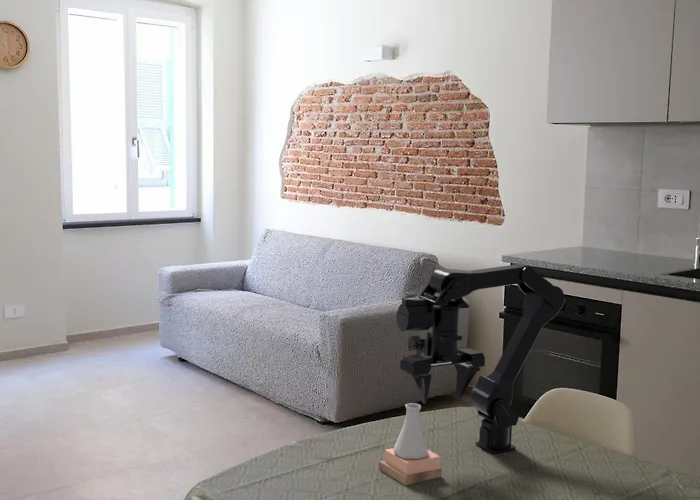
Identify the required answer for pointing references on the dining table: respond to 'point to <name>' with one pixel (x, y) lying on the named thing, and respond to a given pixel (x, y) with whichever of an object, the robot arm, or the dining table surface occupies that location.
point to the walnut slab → (408, 478)
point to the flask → (411, 435)
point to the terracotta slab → (412, 462)
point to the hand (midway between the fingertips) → (441, 400)
